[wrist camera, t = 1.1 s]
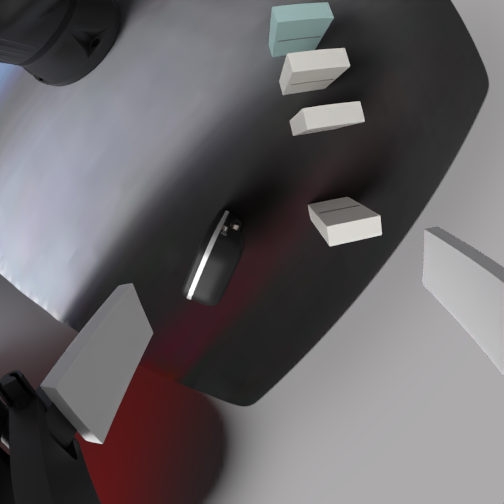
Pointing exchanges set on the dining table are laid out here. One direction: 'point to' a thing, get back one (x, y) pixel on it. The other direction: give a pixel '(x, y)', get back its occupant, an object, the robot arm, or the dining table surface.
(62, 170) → the dining table surface
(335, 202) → the end domino
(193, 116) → the dining table surface
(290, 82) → the domino
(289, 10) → the domino
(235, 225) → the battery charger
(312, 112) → the domino
